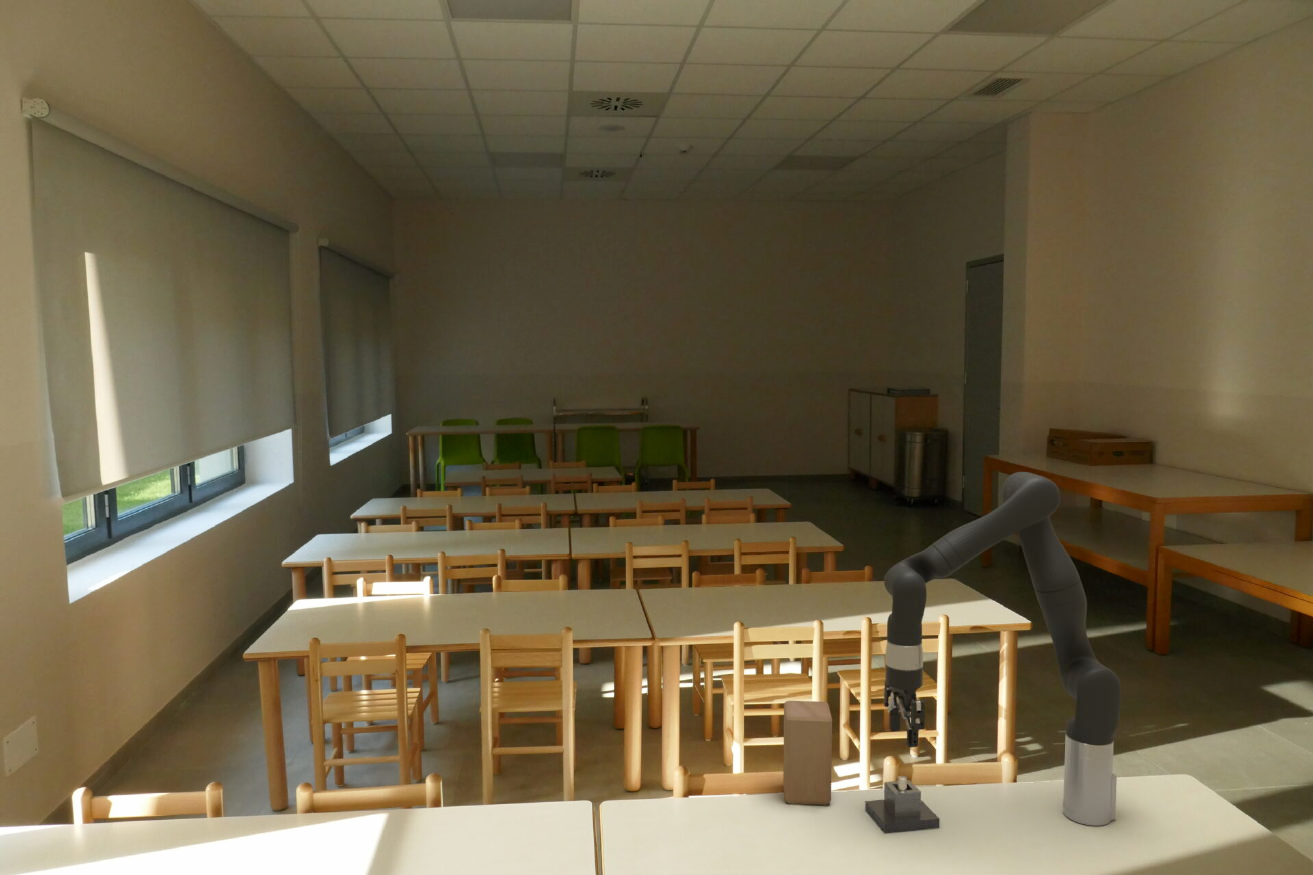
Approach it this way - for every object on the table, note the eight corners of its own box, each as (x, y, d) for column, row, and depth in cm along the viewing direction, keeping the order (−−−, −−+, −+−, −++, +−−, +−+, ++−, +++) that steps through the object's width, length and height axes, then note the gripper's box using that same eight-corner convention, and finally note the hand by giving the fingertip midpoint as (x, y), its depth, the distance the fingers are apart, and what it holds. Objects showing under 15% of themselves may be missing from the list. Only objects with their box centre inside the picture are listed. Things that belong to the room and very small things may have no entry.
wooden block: (827, 785, 212) (828, 700, 211) (831, 806, 202) (832, 717, 201) (783, 784, 213) (783, 698, 212) (784, 804, 203) (785, 715, 202)
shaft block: (917, 805, 203) (918, 765, 202) (939, 827, 193) (940, 785, 192) (865, 810, 201) (865, 769, 200) (884, 833, 191) (885, 790, 190)
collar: (908, 802, 200) (909, 779, 199) (920, 814, 194) (921, 791, 194) (884, 804, 199) (884, 781, 198) (895, 817, 193) (895, 794, 193)
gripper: (937, 672, 188) (936, 750, 189) (905, 650, 202) (905, 723, 203) (902, 675, 186) (901, 753, 188) (873, 653, 200) (872, 726, 202)
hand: (903, 738), depth 195 cm, fingers open, 8 cm apart
